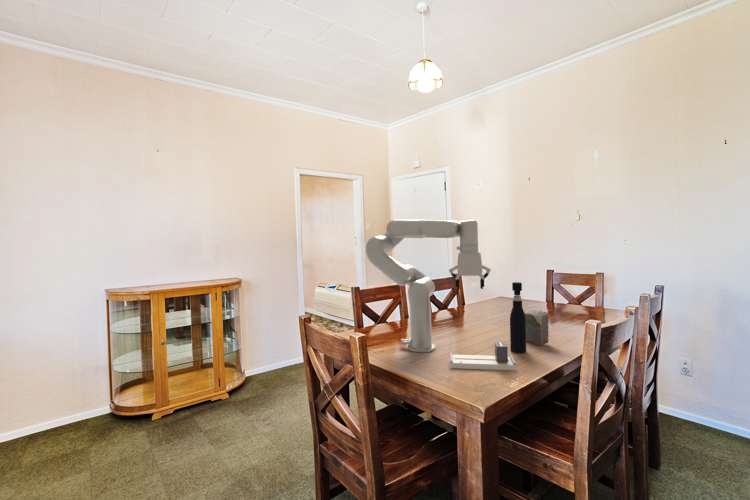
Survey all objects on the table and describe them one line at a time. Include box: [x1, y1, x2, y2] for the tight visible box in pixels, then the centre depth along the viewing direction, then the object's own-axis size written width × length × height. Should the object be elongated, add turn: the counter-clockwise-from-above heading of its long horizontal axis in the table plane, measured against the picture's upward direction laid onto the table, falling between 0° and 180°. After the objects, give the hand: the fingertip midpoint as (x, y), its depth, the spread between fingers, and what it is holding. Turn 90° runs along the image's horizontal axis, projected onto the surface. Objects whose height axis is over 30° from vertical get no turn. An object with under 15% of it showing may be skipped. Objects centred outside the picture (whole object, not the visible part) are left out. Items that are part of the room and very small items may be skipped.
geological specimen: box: [524, 309, 550, 346], centre depth 168 cm, size 11×6×15 cm, turn 25°
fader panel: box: [449, 352, 517, 371], centre depth 142 cm, size 24×10×3 cm, turn 78°
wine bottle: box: [509, 281, 527, 355], centre depth 156 cm, size 6×6×30 cm
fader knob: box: [494, 341, 509, 362], centre depth 141 cm, size 4×6×6 cm, turn 168°
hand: (470, 288), depth 155 cm, fingers open, 9 cm apart
